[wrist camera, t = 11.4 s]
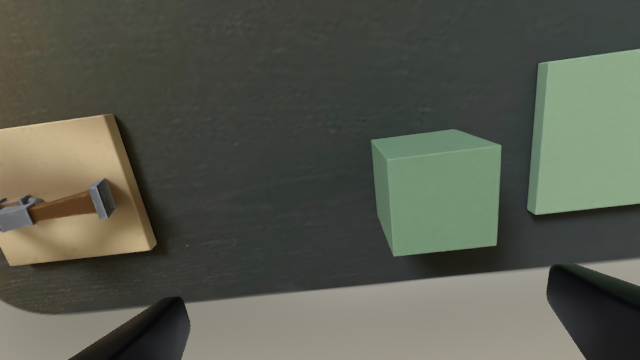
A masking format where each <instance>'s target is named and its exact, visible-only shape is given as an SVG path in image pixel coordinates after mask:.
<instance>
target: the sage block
mask: <svg viewBox="0 0 640 360" xmlns="http://www.w3.org/2000/svg"><path fill="white" fill-rule="evenodd" d="M371 146H372V158H373V170H374V182H375V193H376V205H377V215H378V218H379V220H380V223H381V225H382V228H383V230H384V233H385V236H386V238H387V241H388V243H389V246H390V248H391V251H392V253H393V256H404V255H413V254H423V253H432V252H441V251H451V250H460V249H470V248H479V247H488V246H496V245H497V230H498V209H499V188H500V167H501V145H499V144H496V143H493V142H490V141H487V140H484V139H482V138H479V137H476V136H473V135H470V134H467V133H464V132H461V131H458V130H456V129H452V130H444V131H436V132H429V133H421V134H413V135H406V136H398V137H390V138H383V139H375V140H371Z"/></svg>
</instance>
